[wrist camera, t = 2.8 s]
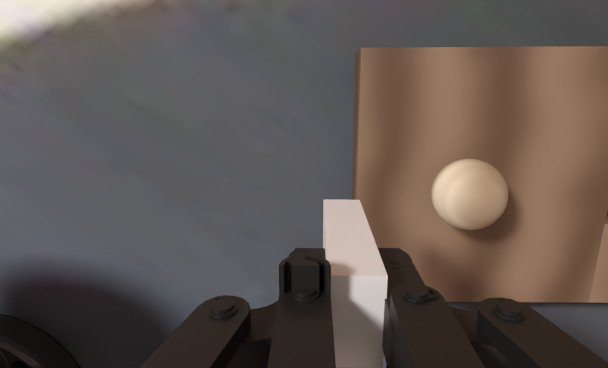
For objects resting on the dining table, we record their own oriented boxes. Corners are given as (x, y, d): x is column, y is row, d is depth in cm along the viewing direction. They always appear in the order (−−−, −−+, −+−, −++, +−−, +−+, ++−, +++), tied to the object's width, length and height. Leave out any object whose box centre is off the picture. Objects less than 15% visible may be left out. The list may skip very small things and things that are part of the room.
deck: (349, 282, 28) (353, 301, 26) (356, 51, 24) (361, 47, 22) (684, 284, 28) (719, 303, 25) (746, 49, 24) (796, 45, 21)
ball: (420, 216, 24) (440, 241, 20) (424, 153, 23) (447, 166, 19) (484, 216, 24) (517, 241, 20) (492, 152, 23) (528, 166, 19)
